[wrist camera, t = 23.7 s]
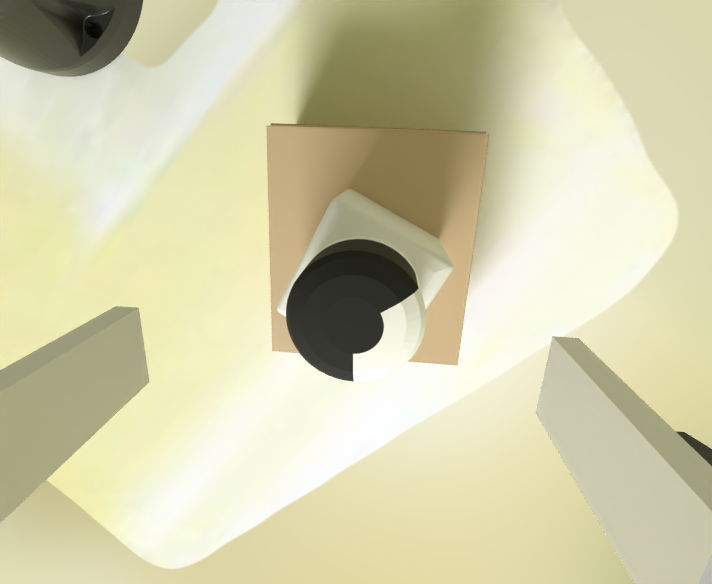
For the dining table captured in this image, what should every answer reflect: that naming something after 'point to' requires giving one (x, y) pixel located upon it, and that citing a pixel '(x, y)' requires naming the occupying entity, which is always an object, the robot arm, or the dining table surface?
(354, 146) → the lid
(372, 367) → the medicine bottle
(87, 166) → the dining table surface
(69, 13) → the robot arm
